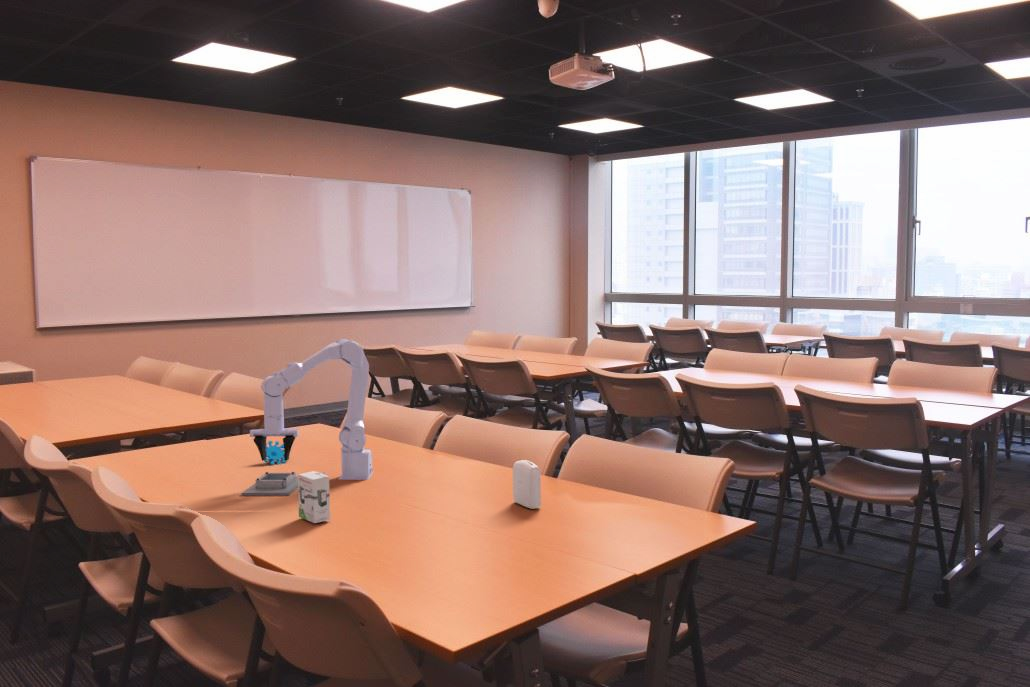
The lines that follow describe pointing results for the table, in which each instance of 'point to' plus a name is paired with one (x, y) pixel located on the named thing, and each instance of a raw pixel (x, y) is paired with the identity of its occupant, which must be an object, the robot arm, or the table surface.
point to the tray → (273, 485)
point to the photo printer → (526, 484)
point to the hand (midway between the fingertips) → (275, 459)
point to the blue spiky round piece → (274, 453)
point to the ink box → (314, 496)
